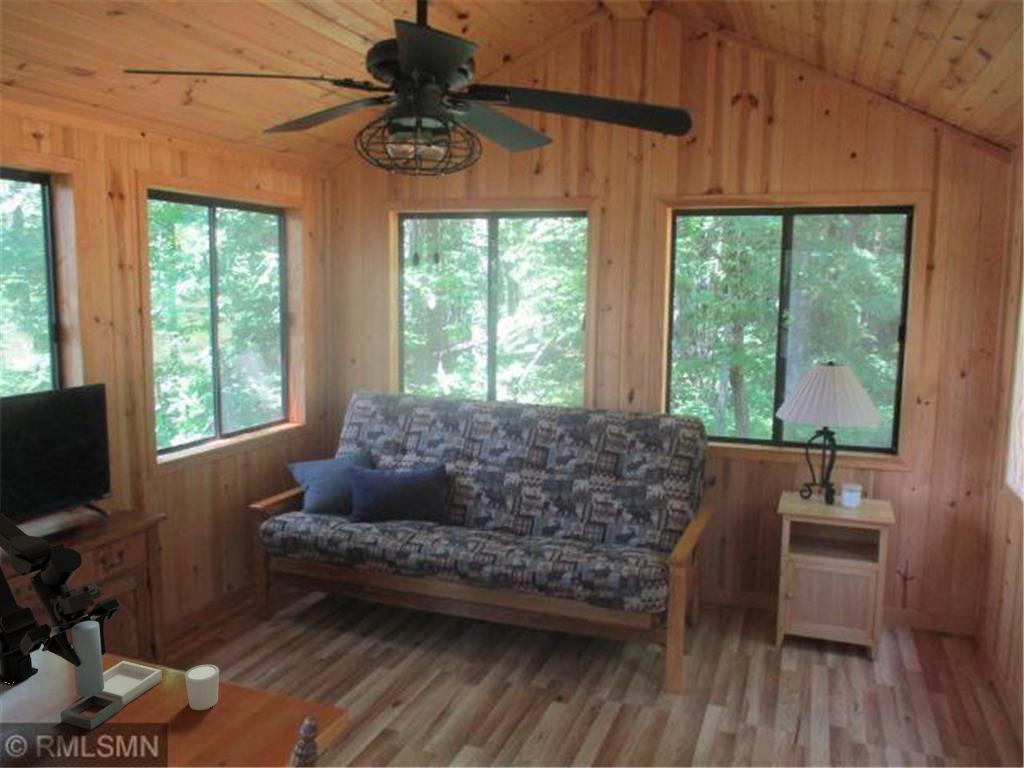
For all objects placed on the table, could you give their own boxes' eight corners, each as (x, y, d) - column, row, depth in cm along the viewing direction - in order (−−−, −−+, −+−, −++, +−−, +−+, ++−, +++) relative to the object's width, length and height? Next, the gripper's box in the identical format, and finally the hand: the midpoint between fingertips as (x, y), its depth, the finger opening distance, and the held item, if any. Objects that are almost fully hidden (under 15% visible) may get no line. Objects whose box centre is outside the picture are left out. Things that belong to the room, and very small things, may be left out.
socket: (61, 721, 162) (60, 712, 162) (93, 700, 170) (93, 692, 169) (91, 730, 160) (90, 721, 159) (122, 708, 167) (122, 699, 167)
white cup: (226, 694, 173) (224, 665, 172) (211, 713, 166) (209, 682, 165) (196, 692, 174) (194, 662, 172) (180, 710, 167) (178, 679, 166)
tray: (83, 695, 171) (82, 685, 171) (123, 670, 182) (123, 660, 181) (123, 706, 168) (122, 695, 167) (162, 680, 178) (161, 670, 177)
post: (70, 693, 162) (65, 629, 160) (91, 681, 167) (86, 619, 164) (89, 698, 161) (84, 634, 158) (109, 686, 165) (104, 623, 163)
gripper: (22, 593, 153) (60, 662, 150) (112, 561, 169) (149, 622, 166) (3, 621, 159) (40, 688, 155) (92, 587, 175) (127, 647, 171)
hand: (91, 659), depth 162 cm, fingers closed on post, 5 cm apart
